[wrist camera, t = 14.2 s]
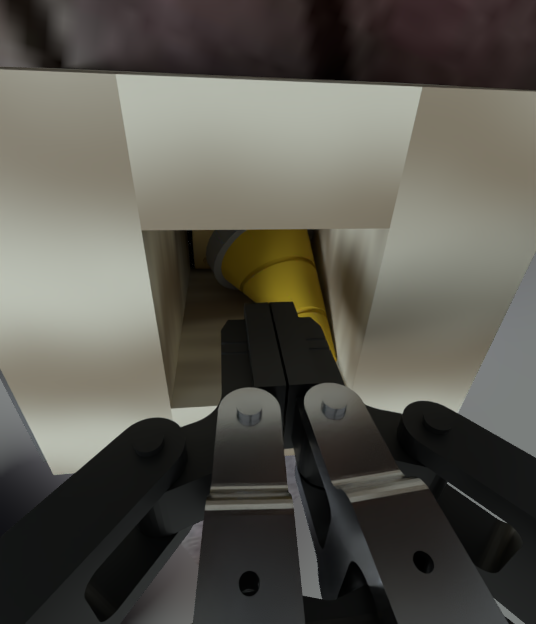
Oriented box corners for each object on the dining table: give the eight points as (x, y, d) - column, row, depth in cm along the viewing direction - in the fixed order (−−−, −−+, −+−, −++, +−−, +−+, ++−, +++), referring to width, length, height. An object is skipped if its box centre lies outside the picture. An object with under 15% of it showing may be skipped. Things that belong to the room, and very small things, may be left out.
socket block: (46, 67, 16) (-191, 61, 7) (419, 83, 18) (634, 95, 9) (109, 315, 23) (36, 476, 14) (368, 306, 25) (456, 441, 16)
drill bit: (294, 163, 19) (415, 313, 15) (252, 239, 22) (340, 378, 18) (203, 146, 15) (327, 335, 11) (171, 239, 19) (256, 409, 15)
